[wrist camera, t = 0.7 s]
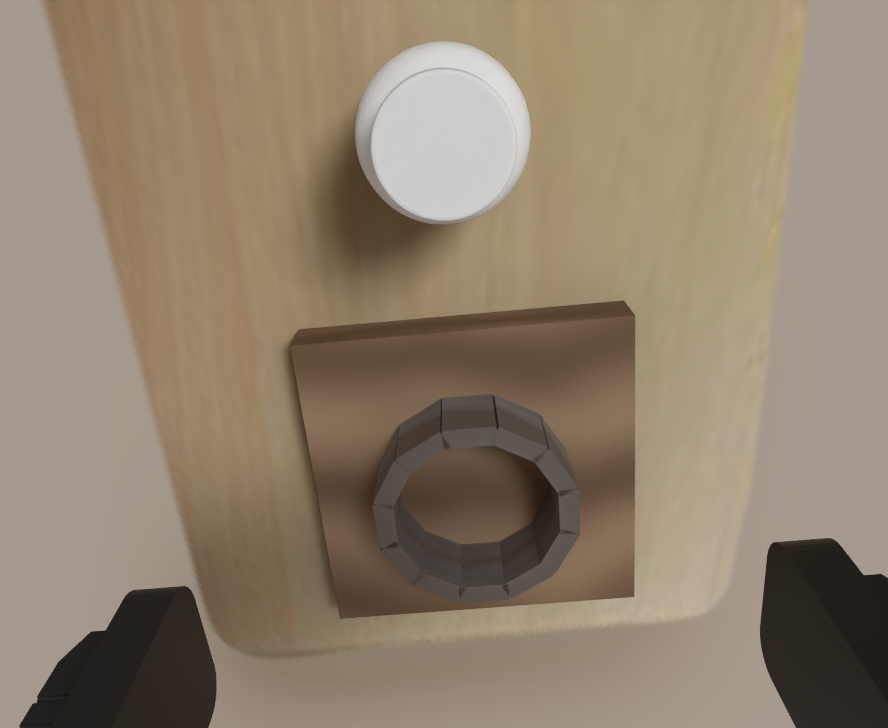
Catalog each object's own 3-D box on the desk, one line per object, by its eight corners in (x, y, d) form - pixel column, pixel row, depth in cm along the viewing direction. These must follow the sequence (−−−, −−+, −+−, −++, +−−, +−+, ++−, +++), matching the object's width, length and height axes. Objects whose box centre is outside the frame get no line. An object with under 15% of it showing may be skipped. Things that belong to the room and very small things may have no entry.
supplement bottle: (421, 216, 30) (411, 282, 21) (345, 96, 29) (299, 112, 20) (537, 143, 29) (578, 180, 20) (465, 14, 28) (475, -10, 18)
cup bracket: (298, 329, 32) (274, 374, 28) (624, 300, 32) (654, 341, 27) (345, 590, 37) (331, 665, 33) (624, 569, 37) (650, 642, 32)
